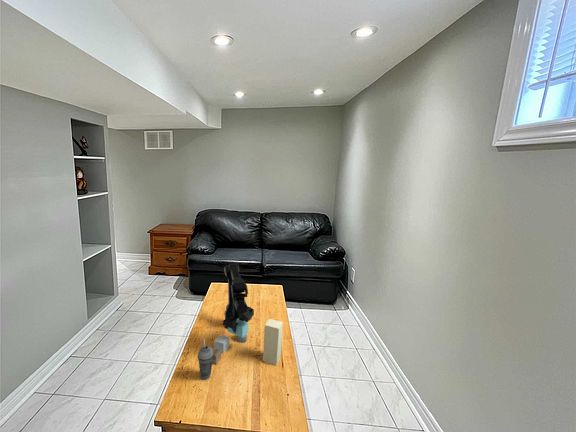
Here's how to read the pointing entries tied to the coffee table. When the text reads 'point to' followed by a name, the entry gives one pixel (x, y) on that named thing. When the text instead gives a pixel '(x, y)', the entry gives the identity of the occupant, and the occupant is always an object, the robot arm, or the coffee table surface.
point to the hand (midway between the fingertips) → (237, 330)
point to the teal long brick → (240, 329)
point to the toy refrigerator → (272, 341)
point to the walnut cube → (216, 356)
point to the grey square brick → (221, 343)
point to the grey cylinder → (242, 339)
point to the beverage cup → (205, 361)
